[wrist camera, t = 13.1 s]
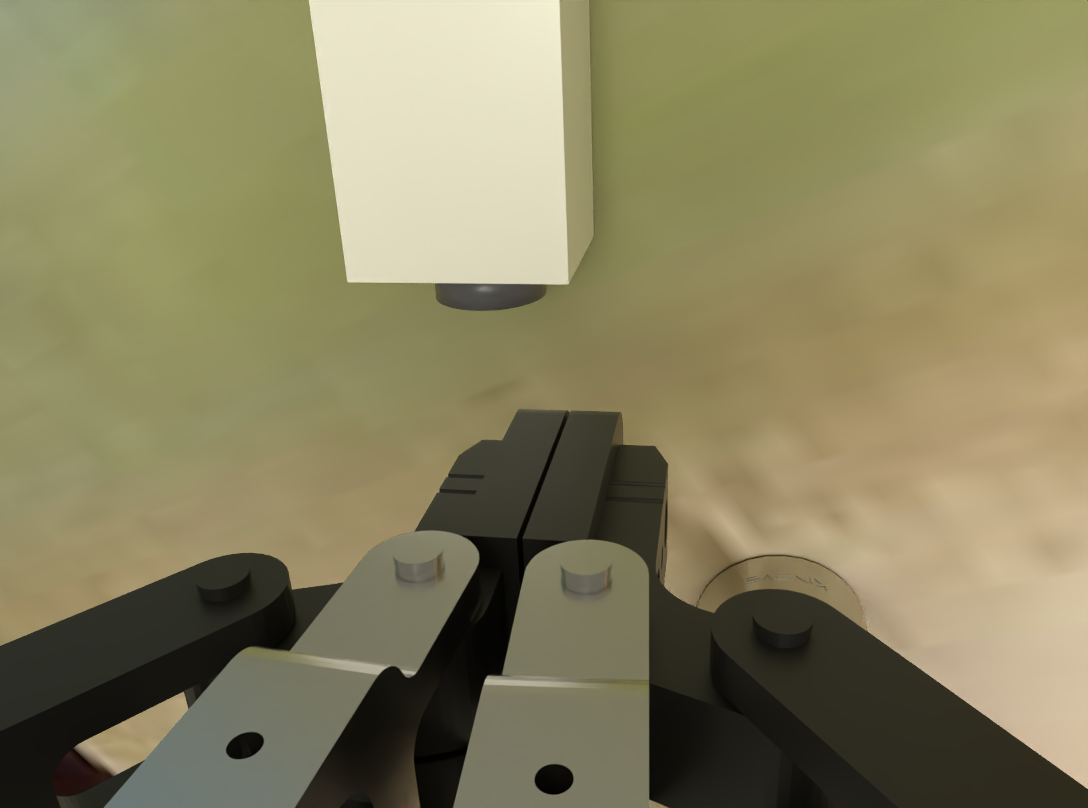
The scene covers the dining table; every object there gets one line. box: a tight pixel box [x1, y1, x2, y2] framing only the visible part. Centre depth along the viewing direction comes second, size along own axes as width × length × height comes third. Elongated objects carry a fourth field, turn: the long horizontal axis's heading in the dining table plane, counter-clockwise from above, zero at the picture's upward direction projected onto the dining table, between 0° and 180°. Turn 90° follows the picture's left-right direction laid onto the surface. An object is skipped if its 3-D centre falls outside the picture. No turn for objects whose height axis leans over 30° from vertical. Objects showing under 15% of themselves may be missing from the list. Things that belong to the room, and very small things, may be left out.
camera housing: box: [309, 0, 594, 311], centre depth 36 cm, size 22×9×9 cm, turn 2°
